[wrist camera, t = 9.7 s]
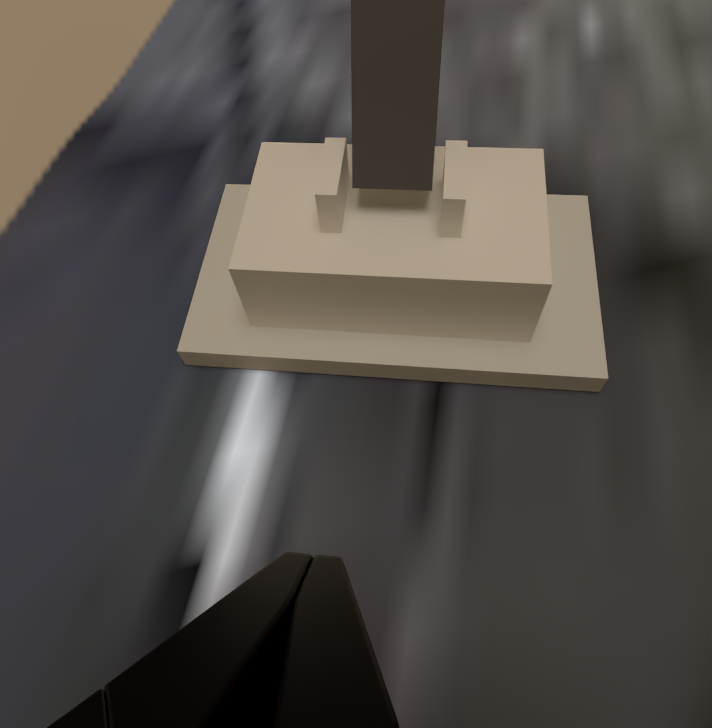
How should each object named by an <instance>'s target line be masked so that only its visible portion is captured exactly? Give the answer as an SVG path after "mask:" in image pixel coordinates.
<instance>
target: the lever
mask: <svg viewBox="0 0 712 728" xmlns="http://www.w3.org/2000/svg"><path fill="white" fill-rule="evenodd" d="M444 5H445V0H351V68H352V188H362V189H392V190H423V191H432V183H433V168H434V154H435V139H436V124H437V109H438V94H439V79H440V64H441V49H442V34H443V20H444Z"/></svg>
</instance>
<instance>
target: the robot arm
mask: <svg viewBox="0 0 712 728" xmlns="http://www.w3.org/2000/svg"><path fill="white" fill-rule="evenodd" d="M47 728H399V723H398V720H397V717H396V714H395V712H394V709H393V706H392V703H391V700H390V697H389V694H388V691H387V688H386V685H385V682H384V679H383V676H382V673H381V671H380V668H379V665H378V662H377V659H376V656H375V653H374V650H373V647H372V644H371V641H370V638H369V635H368V632H367V630H366V627H365V624H364V621H363V618H362V615H361V612H360V609H359V606H358V603H357V600H356V597H355V594H354V592H353V589H352V586H351V583H350V580H349V577H348V574H347V571H346V568H345V565H344V562H343V560H342V559H341V558H340V557H334V556H323V555H316V556H314V558H313V557H312V556H311V555H310V554H303V553H293V552H285V553H283V554H282V555H280V556H279V557H278V558H276V559H275V560H274V561H272V562H271V563H270V564H268V565H267V566H266V567H264V568H263V569H262V570H260V571H259V572H257V573H256V574H255V575H253V576H252V577H251V578H249V579H248V580H247V581H245V582H244V583H243V584H241V585H240V586H239V587H237V588H236V589H235V590H233V591H232V592H231V593H229V594H228V595H226V596H225V597H224V598H222V599H221V600H220V601H218V602H217V603H216V604H214V605H213V606H212V607H210V608H209V609H208V610H206V611H205V612H204V613H202V614H201V615H199V616H198V617H197V618H195V619H194V620H193V621H191V622H190V623H189V624H187V625H186V626H185V627H183V628H182V629H181V630H179V631H178V632H177V633H175V634H174V635H172V636H171V637H170V638H168V639H167V640H166V641H164V642H163V643H162V644H160V645H159V646H158V647H156V648H155V649H154V650H152V651H151V652H150V653H148V654H147V655H145V656H144V657H143V658H141V659H140V660H139V661H137V662H136V663H135V664H133V665H132V666H131V667H129V668H128V669H127V670H125V671H124V672H123V673H121V674H120V675H118V676H117V677H116V678H114V679H113V680H112V681H110V682H109V683H108V684H106V686H105V692H104V690H103V689H100V690H98V691H97V692H95V693H94V694H92V695H91V696H90V697H88V698H87V699H86V700H84V701H83V702H82V703H80V704H79V705H78V706H76V707H75V708H74V709H72V710H71V711H69V712H68V713H67V714H65V715H64V716H62V717H61V718H59V719H58V720H57V721H55V722H54V723H52V724H51V725H50V726H48V727H47Z"/></svg>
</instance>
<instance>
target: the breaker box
mask: <svg viewBox="0 0 712 728" xmlns="http://www.w3.org/2000/svg"><path fill="white" fill-rule="evenodd" d="M177 352H178V354H179V355H180V357H181V358H182V360H183V361H184V363H185V364H186V365H197V366H212V367H227V368H242V369H258V370H273V371H288V372H303V373H318V374H333V375H348V376H363V377H378V378H394V379H409V380H424V381H439V382H454V383H469V384H484V385H499V386H514V387H530V388H545V389H560V390H575V391H590V392H600V390H601V389H602V387H603V386H604V384H605V383H606V381H607V380H608V372H607V363H606V355H605V346H604V337H603V328H602V320H601V311H600V302H599V293H598V284H597V276H596V267H595V258H594V249H593V241H592V232H591V223H590V214H589V206H588V197H587V196H576V195H546V182H545V168H544V153H543V149H522V148H481V147H467V141H454V140H446V145H445V147H440V146H435V154H434V168H433V183H432V191H423V190H392V189H362V188H352V144H347V142H346V138H325V143H324V144H318V143H277V142H262V144H261V148H260V152H259V155H258V159H257V163H256V167H255V170H254V174H253V178H252V182H251V185H236V184H226V186H225V190H224V193H223V196H222V200H221V203H220V207H219V210H218V213H217V217H216V220H215V224H214V227H213V230H212V234H211V237H210V241H209V244H208V247H207V251H206V254H205V258H204V261H203V264H202V268H201V271H200V275H199V278H198V281H197V285H196V288H195V292H194V295H193V298H192V302H191V305H190V309H189V312H188V315H187V319H186V322H185V326H184V329H183V332H182V336H181V339H180V343H179V346H178V349H177Z"/></svg>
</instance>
